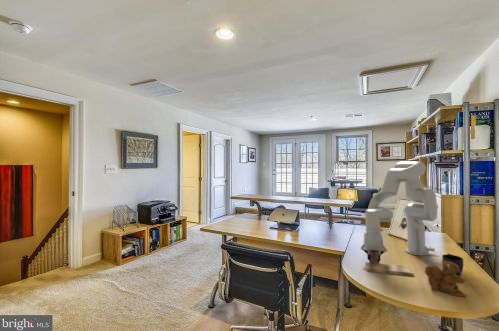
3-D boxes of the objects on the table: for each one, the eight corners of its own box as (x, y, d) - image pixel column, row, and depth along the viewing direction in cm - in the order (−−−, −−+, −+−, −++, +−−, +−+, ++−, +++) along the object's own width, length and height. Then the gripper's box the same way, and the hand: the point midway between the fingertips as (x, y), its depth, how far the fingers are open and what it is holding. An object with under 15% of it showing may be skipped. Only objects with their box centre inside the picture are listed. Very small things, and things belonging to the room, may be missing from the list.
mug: (459, 271, 128) (459, 253, 128) (465, 280, 118) (465, 261, 118) (440, 268, 132) (439, 251, 132) (444, 277, 122) (443, 258, 122)
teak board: (409, 268, 133) (408, 266, 133) (413, 276, 125) (413, 273, 125) (365, 264, 141) (365, 261, 141) (367, 271, 132) (366, 268, 132)
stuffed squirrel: (468, 298, 103) (467, 268, 103) (427, 291, 110) (426, 262, 110) (460, 287, 112) (460, 259, 112) (424, 281, 119) (423, 255, 119)
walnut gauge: (377, 261, 143) (376, 249, 143) (380, 268, 133) (379, 256, 133) (369, 260, 144) (369, 249, 144) (372, 268, 135) (371, 255, 135)
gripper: (387, 229, 142) (388, 260, 142) (356, 228, 148) (358, 257, 148) (390, 233, 135) (391, 265, 135) (358, 231, 141) (359, 262, 141)
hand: (374, 261), depth 142 cm, fingers closed on walnut gauge, 4 cm apart
